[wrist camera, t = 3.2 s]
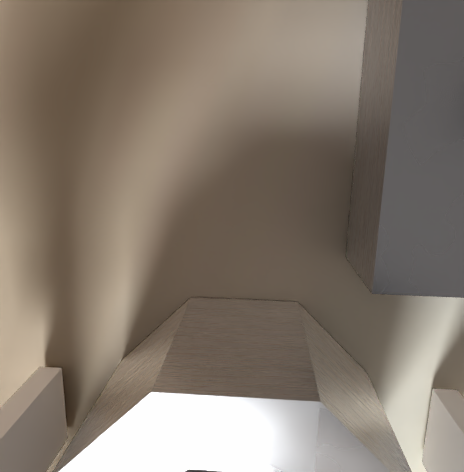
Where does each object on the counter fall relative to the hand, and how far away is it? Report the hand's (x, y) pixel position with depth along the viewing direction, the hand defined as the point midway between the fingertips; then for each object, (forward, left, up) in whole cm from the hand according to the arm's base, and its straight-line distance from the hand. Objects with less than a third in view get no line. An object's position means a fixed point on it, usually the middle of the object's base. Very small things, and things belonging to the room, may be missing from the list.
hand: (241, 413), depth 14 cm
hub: (0, 0, 0) cm, 0 cm away
